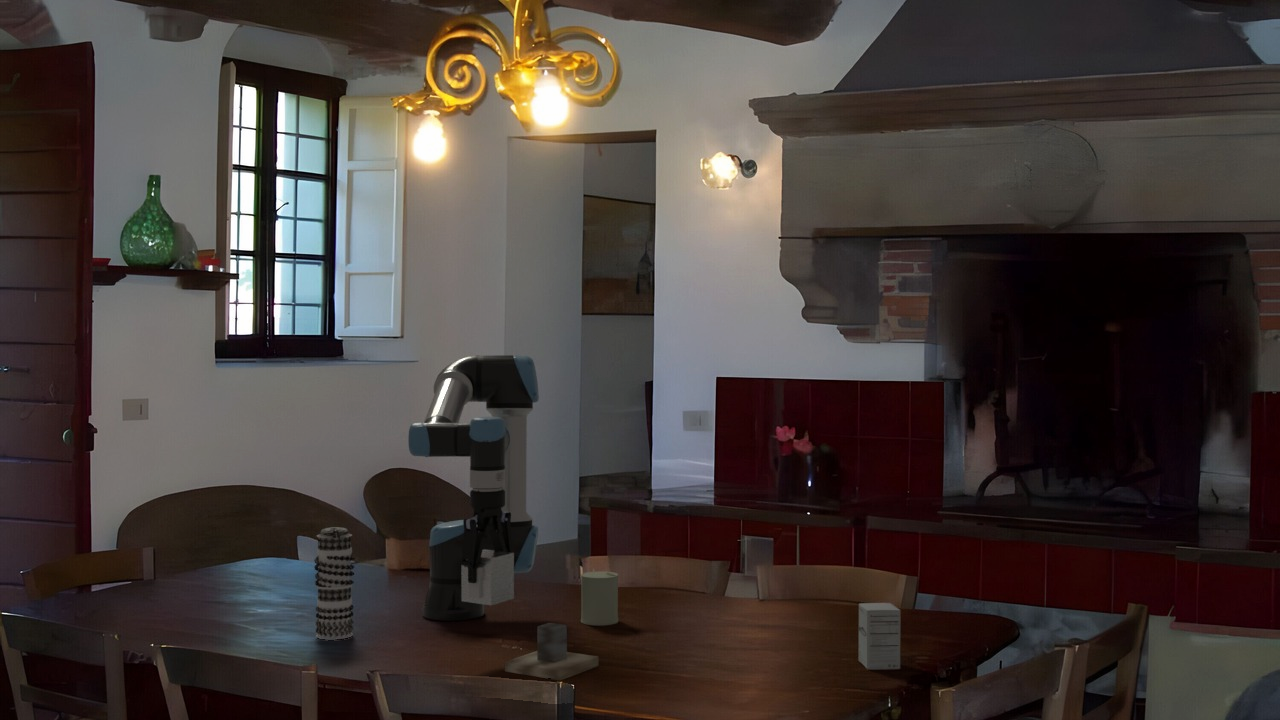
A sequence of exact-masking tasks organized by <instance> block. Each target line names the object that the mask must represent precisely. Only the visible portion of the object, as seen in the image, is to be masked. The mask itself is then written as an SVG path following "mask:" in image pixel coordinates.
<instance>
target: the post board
mask: <svg viewBox="0 0 1280 720" xmlns="http://www.w3.org/2000/svg"><path fill="white" fill-rule="evenodd" d="M536 631H537V632H536V633H537V636H536V638H537V640H536V641H537V644H536V645H537V646H536V647H537V649H536V651H532V652H530V653H527V654H524V655H521V656H518V657H515V658H512V659H509V660H507V661H504V672H505V673H506V672H507V673H512V674H519V675H525V676H531V677H537V678H541V679H542V678H543V679H548V678H551V679H550V680H554V681H559V682H560V681H563V680H566V679H569V678H570V677H574V676H576V675H579V674H581V673H584V672H586V671H589V670H591V669H594V668H597V667H599V656H598V655H589V654H583V653H577V652H570V651H568V648H567V647H568V625H566V624H561V623H554V622H548V623H544V624H541V625H538V626H537V630H536Z"/></svg>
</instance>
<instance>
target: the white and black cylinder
mask: <svg viewBox="0 0 1280 720" xmlns="http://www.w3.org/2000/svg"><path fill="white" fill-rule="evenodd" d="M352 536H353V534H352V533H350V531H349V529H348V528H346V527H340V526H339V527H337V526H335V527H334V526H333V527H332V526H331V527H325V528H323V529H321V531H320V532H319V534H317V535H316V536H315V537H317V549H316V552H317V553H316V555H317V556H316V557H315V558H314V561H313V562H314V564H315V565H314V570H315V571H316V574H315V575H314V577H315V581H314V583H315V588H317V600H316V603H317V606H316V607H315V611H316V612H317V613H316V614H315V618H316V619H317V620H316V621H315V626H316V627H315V633H316V635H315V638H316V637H318V638H323V639H340V638H347V637H351V636H352V635H353V636H354V633H353V631H354V628H355V627H354V626H353V624H354V623H355V622H354V619H353V618H352V617H353V616H354V612H353V611H352V610H354V605H353V597H352V587H354V583H355V582H354V580H352V579H351V577H353V576H354V575H355V572H354V571H353V569H354V568H355V565H354V564H352V563H351V562H353V561H354V560H356V557H355V556H354V554H355V551H353V547H352ZM351 638H352V637H351Z"/></svg>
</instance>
